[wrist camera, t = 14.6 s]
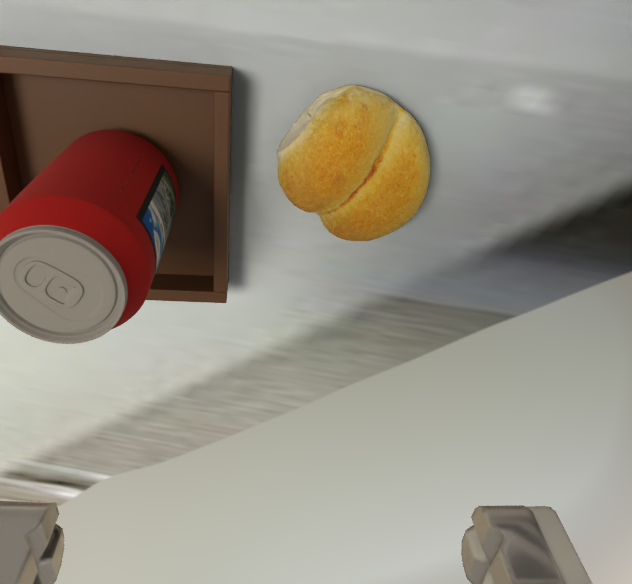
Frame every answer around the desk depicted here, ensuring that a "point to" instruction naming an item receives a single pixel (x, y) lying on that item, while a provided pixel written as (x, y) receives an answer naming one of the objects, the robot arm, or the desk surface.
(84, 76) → the serving tray
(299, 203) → the bread roll
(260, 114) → the desk surface
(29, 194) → the beverage can
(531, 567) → the robot arm
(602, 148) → the desk surface
